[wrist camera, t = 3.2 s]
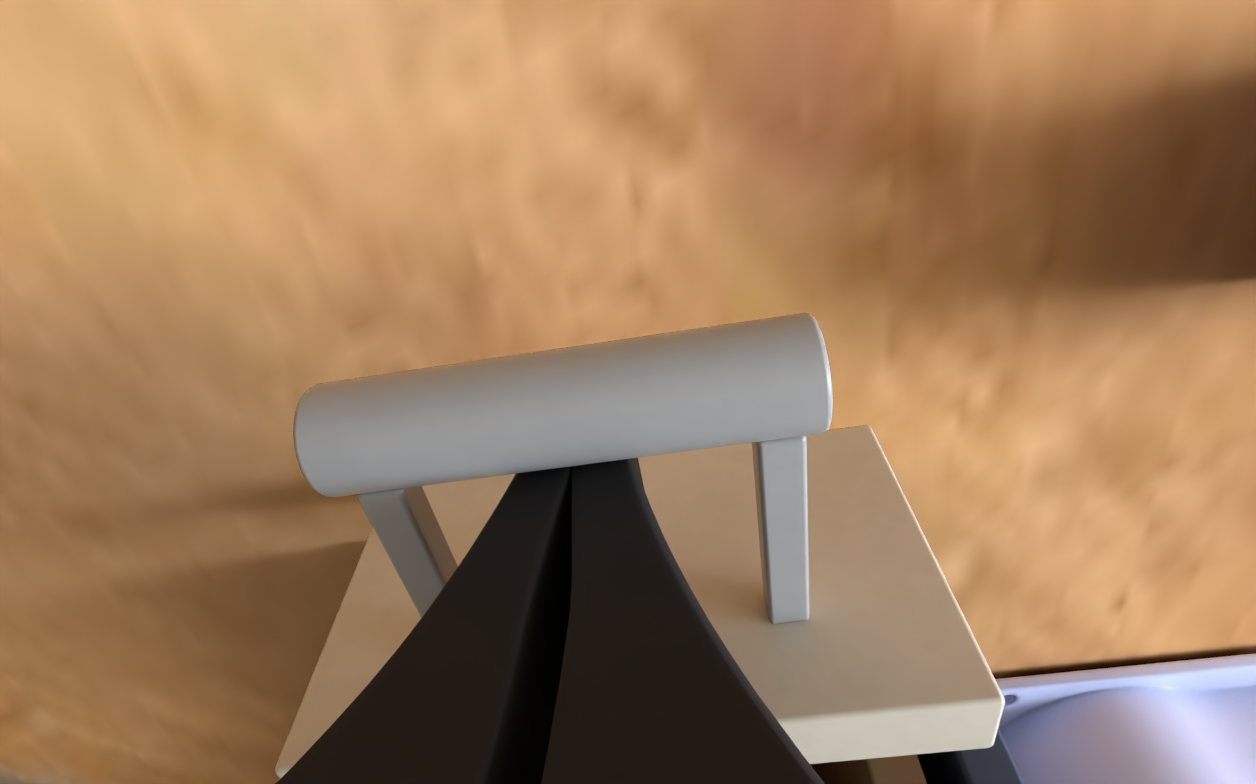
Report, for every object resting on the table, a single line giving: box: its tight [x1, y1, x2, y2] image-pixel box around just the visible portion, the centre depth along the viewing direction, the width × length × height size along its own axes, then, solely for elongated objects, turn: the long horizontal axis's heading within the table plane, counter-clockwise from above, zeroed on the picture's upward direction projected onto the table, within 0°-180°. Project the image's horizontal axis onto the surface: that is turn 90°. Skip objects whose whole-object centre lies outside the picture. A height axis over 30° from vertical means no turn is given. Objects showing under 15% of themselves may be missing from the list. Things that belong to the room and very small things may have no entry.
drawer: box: [275, 313, 1005, 784], centre depth 13 cm, size 16×10×6 cm, turn 9°
